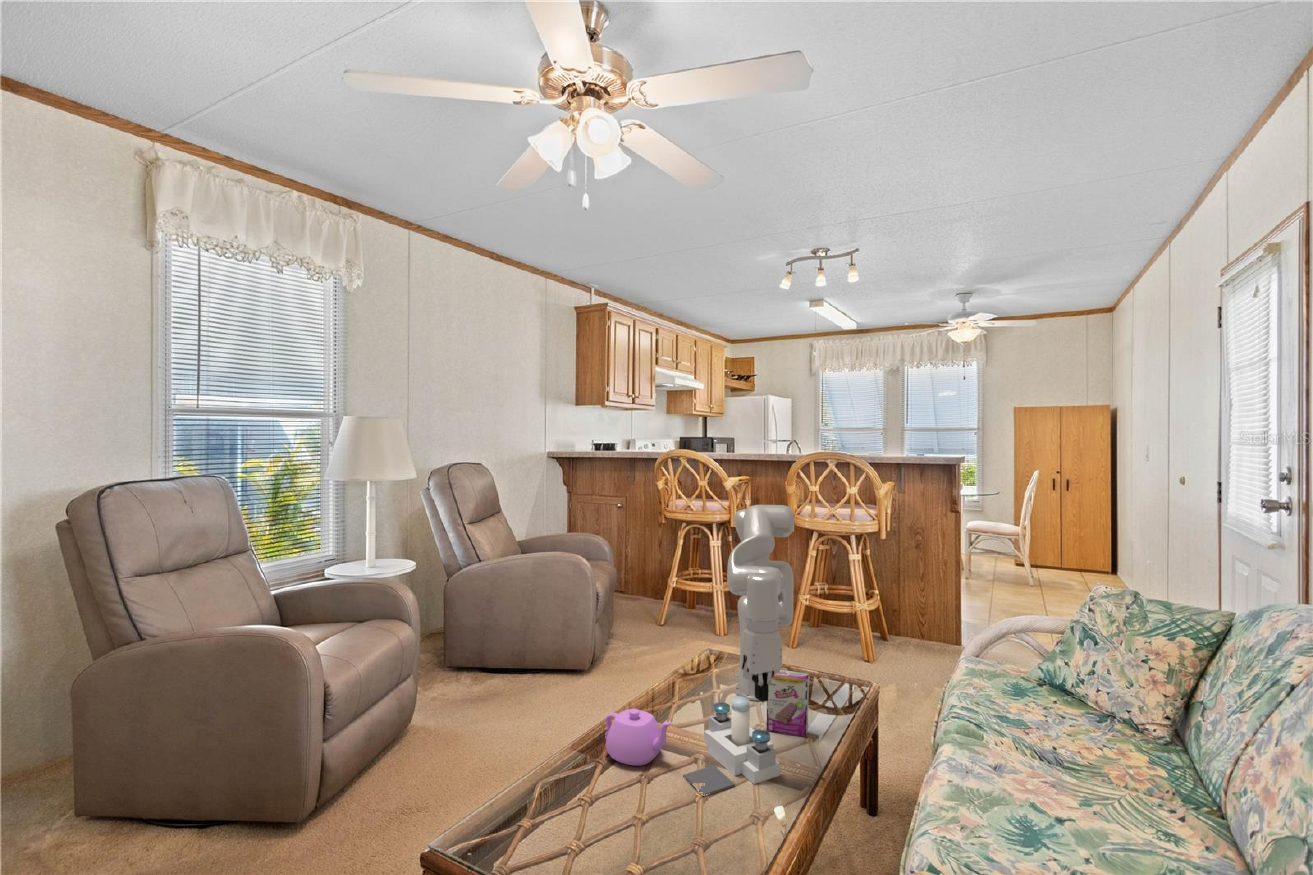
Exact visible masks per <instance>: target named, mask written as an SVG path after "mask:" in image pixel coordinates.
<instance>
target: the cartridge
mask: <svg viewBox="0 0 1313 875" xmlns="http://www.w3.org/2000/svg"><path fill="white" fill-rule="evenodd" d="M750 702H751V700H749V699H748V698H746V697H741V696H738V695H737V696H734V697H732V698H731V718H732V719H731V742H732V743H733V744H735V745H736V746H737V747H739V746H743V745H746V744H749V726H750V710H751V708H750V705H751V704H750Z"/></svg>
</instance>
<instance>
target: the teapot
mask: <svg viewBox="0 0 1313 875" xmlns="http://www.w3.org/2000/svg"><path fill="white" fill-rule="evenodd" d="M611 718H614V719H613V721H612V722H611ZM605 724H606V730H607V731H605V733H604V737H605V741H606V743H605V748H606V752H607V753H608V755H609V756H610V758H612V759H613V760H614V761H616V762H619V763H621V764H623V765H624V764H625V765H628V766H629V765H630V766H637V767H638V766H640V767H641V766H645V765H647V764H649V763H650V762H652V761H653V760H654V759H655V758H656V757H657V755H659V753H660V751H661V749H662V748H663V747H664V746H665V744H666V742H667V731H668V727H669V726H670V725H673V722H672V721H666V722H663V723H662V724H661V725H660V726H659V725H658V722H657V720H656V719H655V717H654V715H653V714H651V713H650V712H648V711H644V710H639V709H638V708H630V709H629V708H628V709H625V710H622V711H621V712H619V713H618V712H610V713H608V715H607V716H606V717H605Z"/></svg>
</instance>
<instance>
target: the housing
mask: <svg viewBox="0 0 1313 875" xmlns="http://www.w3.org/2000/svg"><path fill="white" fill-rule="evenodd" d="M731 719H732V717H730V716H729V715H727V721H726V722H723V723H719V722H718V721H716V714H715V715H712V716H708V729H707V730H703V742H704V743H705V744H706V745H707V753H708V755H710V756H711V757H712V758H714V759H715V760H716V761H717V762H718V763H719V764H721V765H722V767H724V768H725V769H726V770H727V771H729V772H730V774H732V775H733V776H734V777H736V776H739V775H743V777H744V778H746V779H747V780H748V781H750V783H752V784H753V785H757V784H758V783H762V782H765V781H768V780H770V779H774V778H776V777H779V776H781V762H779V761H778V760H777V758H776V757H777V756H776V754H777V753H776V752H777V751H776V750H775V749H774V748H775V747H774V743H773V742H772V741H771V740H770V741H769V742H767V752H764V753H761V754H759V753H758V752H757V751H755V741H754V740H753V739H752V732H753V731H755V730H756V729H754V728H752V727H751V726H750V725H749V744H746V745H743V746H739V747H737V746H736V745H735V744H733V743H732V742H731Z"/></svg>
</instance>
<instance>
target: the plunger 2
mask: <svg viewBox="0 0 1313 875" xmlns="http://www.w3.org/2000/svg"><path fill="white" fill-rule="evenodd" d="M754 730H755V731H753V732H752V739H753V740H754V741H755V751H757V752H758V753H759V754H761V753H764V752H767V742H769V741H771V734H770V731H767V730H764V729H757V730H756V729H754Z"/></svg>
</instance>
